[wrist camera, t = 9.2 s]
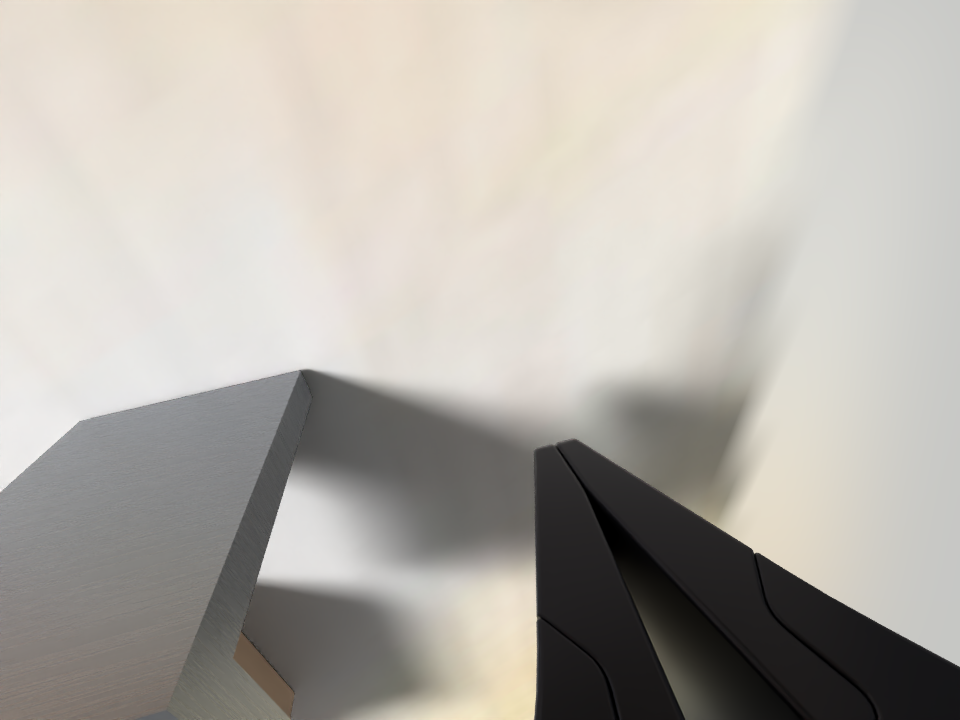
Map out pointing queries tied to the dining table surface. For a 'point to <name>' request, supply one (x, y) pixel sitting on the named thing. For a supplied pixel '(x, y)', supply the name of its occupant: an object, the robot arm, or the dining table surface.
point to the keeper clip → (145, 558)
